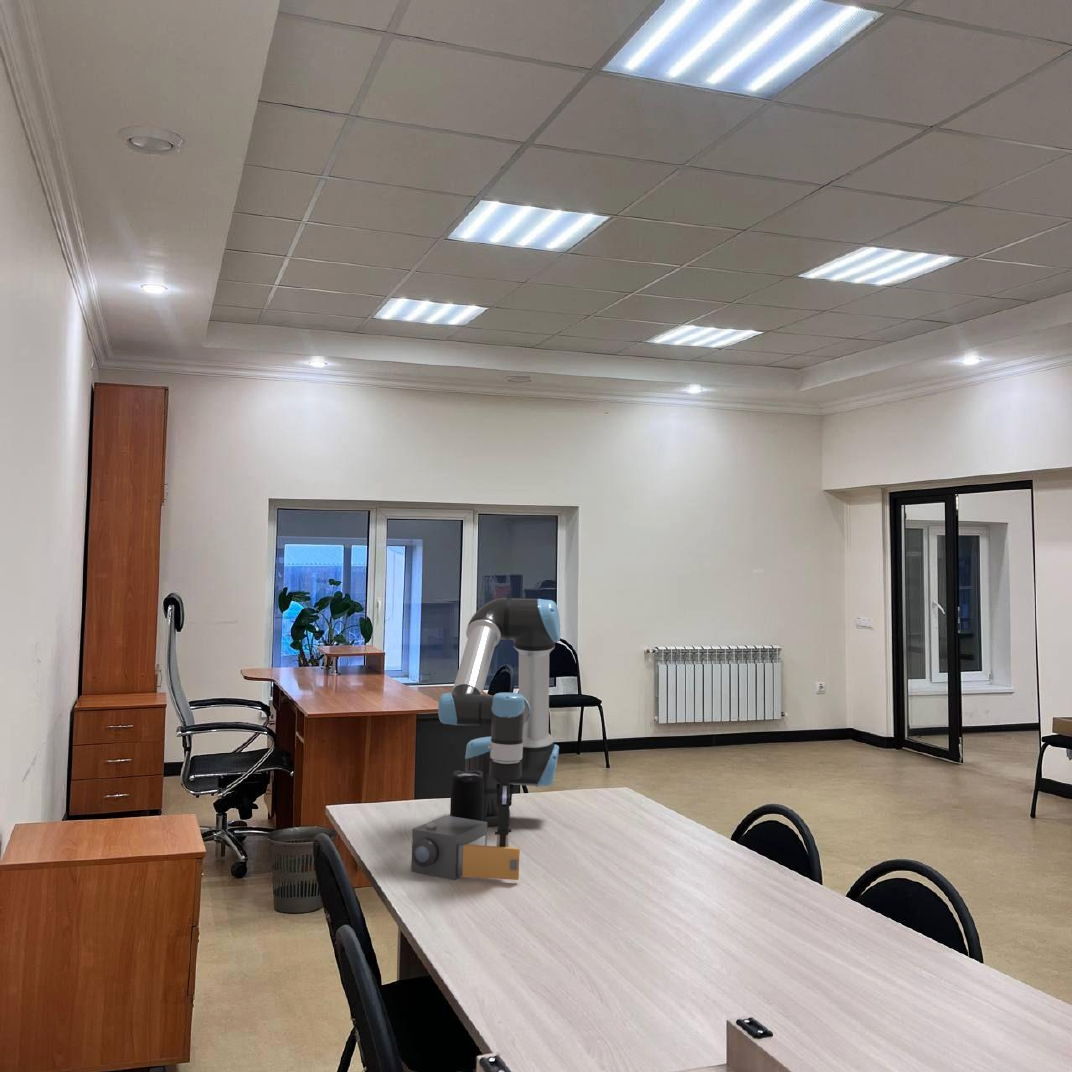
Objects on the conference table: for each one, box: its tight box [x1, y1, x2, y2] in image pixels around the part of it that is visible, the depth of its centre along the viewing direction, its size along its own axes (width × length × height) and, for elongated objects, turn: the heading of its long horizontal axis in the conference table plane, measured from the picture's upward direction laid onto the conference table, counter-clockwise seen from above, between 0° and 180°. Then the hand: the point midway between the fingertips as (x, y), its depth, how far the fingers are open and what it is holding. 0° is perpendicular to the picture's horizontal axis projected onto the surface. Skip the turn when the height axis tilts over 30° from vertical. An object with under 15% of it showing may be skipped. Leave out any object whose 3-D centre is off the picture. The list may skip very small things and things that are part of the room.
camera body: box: [410, 814, 488, 881], centre depth 232 cm, size 18×12×11 cm
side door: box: [458, 844, 521, 881], centre depth 223 cm, size 14×2×7 cm, turn 83°
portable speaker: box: [449, 770, 484, 821], centre depth 249 cm, size 9×9×20 cm
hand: (501, 861), depth 226 cm, fingers closed
